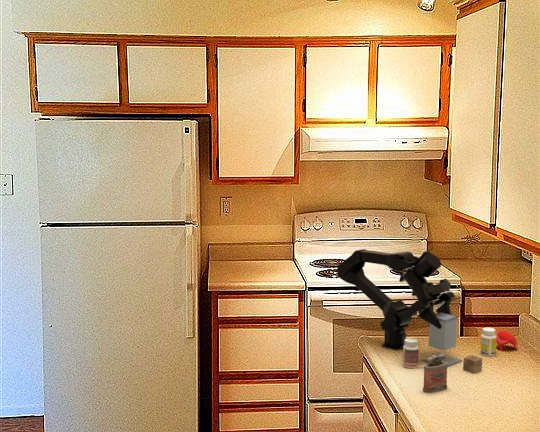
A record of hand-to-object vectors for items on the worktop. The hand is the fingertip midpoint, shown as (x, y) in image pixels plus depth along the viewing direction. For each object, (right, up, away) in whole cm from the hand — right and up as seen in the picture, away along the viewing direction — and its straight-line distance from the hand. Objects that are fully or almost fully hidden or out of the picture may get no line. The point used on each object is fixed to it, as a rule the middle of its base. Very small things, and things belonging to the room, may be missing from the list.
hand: (446, 326), depth 221 cm
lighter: (-8, -15, -20) cm, 26 cm away
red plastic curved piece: (+23, -10, +14) cm, 29 cm away
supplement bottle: (+16, -11, +9) cm, 21 cm away
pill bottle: (-12, -12, -1) cm, 17 cm away
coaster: (-1, -12, +3) cm, 12 cm away
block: (+7, -13, -5) cm, 15 cm away
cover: (-1, -7, +2) cm, 7 cm away
